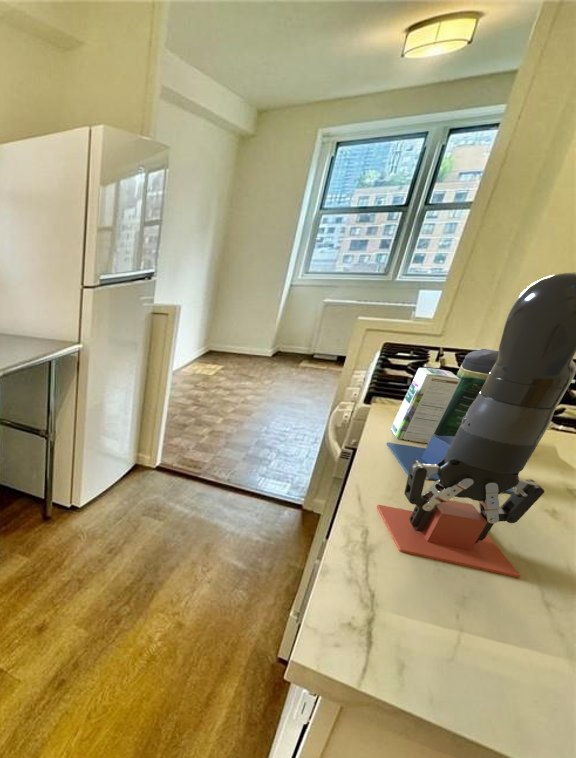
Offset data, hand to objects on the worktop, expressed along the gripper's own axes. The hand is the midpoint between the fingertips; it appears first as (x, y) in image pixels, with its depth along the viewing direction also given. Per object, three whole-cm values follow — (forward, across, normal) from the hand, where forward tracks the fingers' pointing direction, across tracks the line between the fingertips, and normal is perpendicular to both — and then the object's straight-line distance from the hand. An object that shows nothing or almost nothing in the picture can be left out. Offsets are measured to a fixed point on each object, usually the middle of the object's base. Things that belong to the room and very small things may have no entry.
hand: (443, 533), depth 72 cm
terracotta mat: (+1, 0, 0) cm, 1 cm away
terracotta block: (+1, 0, 0) cm, 1 cm away
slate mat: (+1, +9, +29) cm, 30 cm away
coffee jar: (+1, +16, +48) cm, 51 cm away
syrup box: (+1, +7, +43) cm, 44 cm away
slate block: (0, +9, +29) cm, 30 cm away
